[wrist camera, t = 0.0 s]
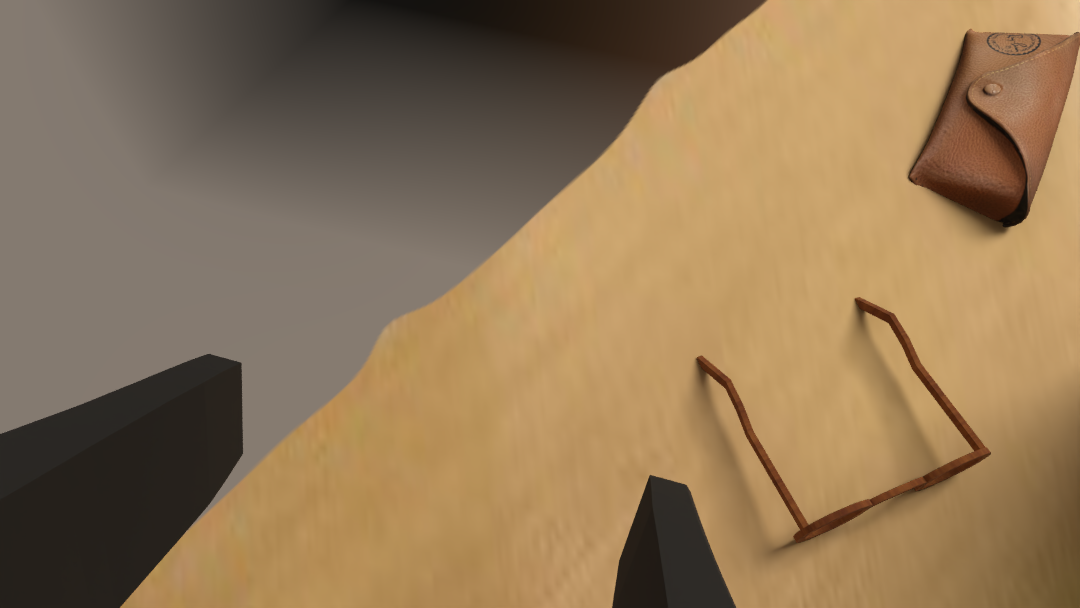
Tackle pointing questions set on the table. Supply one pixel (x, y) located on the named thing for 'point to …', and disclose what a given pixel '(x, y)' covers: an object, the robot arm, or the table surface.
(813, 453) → the table surface
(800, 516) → the glasses
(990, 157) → the sunglasses case
